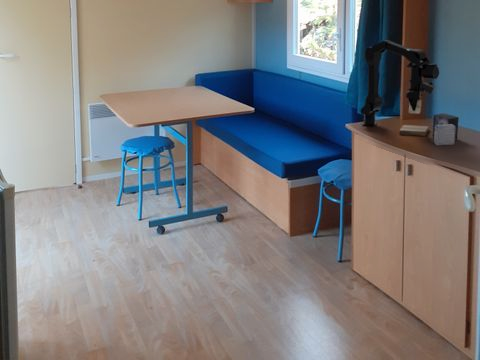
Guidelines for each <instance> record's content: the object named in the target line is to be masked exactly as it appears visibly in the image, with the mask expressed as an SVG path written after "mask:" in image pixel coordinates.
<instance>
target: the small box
mask: <svg viewBox="0 0 480 360" xmlns="http://www.w3.org/2000/svg"><path fill="white" fill-rule="evenodd" d="M459 119H460V118H459V116H456V115H451V114H448V113H437V114H433V120H432V121H433V123H432V124H433V125H432V137H434V134H435V125H442V124H452V125H454V126H455V140H458V132H459V131H458V130H459Z"/></svg>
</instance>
